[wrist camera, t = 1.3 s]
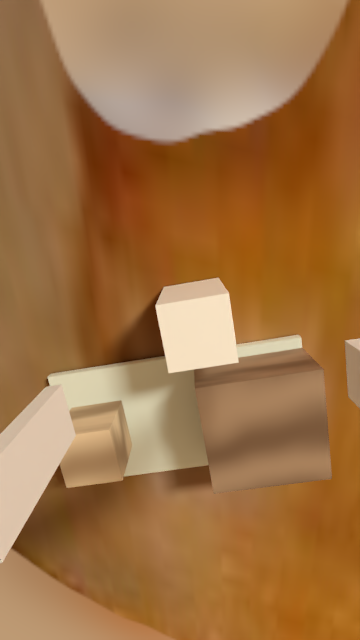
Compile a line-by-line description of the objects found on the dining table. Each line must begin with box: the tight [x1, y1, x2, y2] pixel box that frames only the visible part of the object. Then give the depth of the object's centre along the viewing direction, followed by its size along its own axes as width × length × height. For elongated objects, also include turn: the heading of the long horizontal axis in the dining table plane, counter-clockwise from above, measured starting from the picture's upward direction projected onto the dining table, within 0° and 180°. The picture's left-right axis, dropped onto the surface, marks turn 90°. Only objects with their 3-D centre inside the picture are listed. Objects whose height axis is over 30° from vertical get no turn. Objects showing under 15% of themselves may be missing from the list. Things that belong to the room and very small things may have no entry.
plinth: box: [194, 348, 332, 494], centre depth 30 cm, size 10×10×5 cm
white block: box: [155, 278, 239, 373], centre depth 27 cm, size 5×5×8 cm
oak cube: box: [59, 400, 132, 488], centre depth 31 cm, size 5×5×5 cm
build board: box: [47, 335, 302, 476], centre depth 33 cm, size 12×24×1 cm, turn 100°
